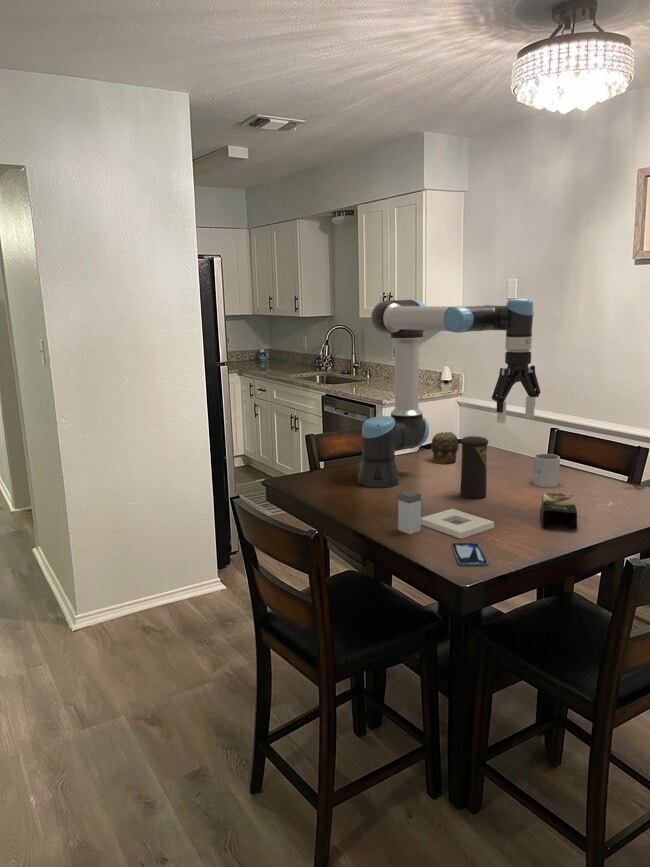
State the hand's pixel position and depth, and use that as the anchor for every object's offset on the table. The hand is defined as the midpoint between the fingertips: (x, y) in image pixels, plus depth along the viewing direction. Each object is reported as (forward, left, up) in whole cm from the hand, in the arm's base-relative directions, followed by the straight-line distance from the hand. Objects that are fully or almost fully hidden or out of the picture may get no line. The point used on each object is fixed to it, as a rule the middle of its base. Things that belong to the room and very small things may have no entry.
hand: (515, 420), depth 203 cm
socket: (+1, -27, -28) cm, 39 cm away
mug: (-10, +32, -28) cm, 44 cm away
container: (-16, 0, -28) cm, 32 cm away
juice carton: (+16, +1, -28) cm, 33 cm away
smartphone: (+18, -41, -28) cm, 53 cm away
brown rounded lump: (-55, +28, -28) cm, 68 cm away
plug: (-5, -40, -28) cm, 49 cm away
